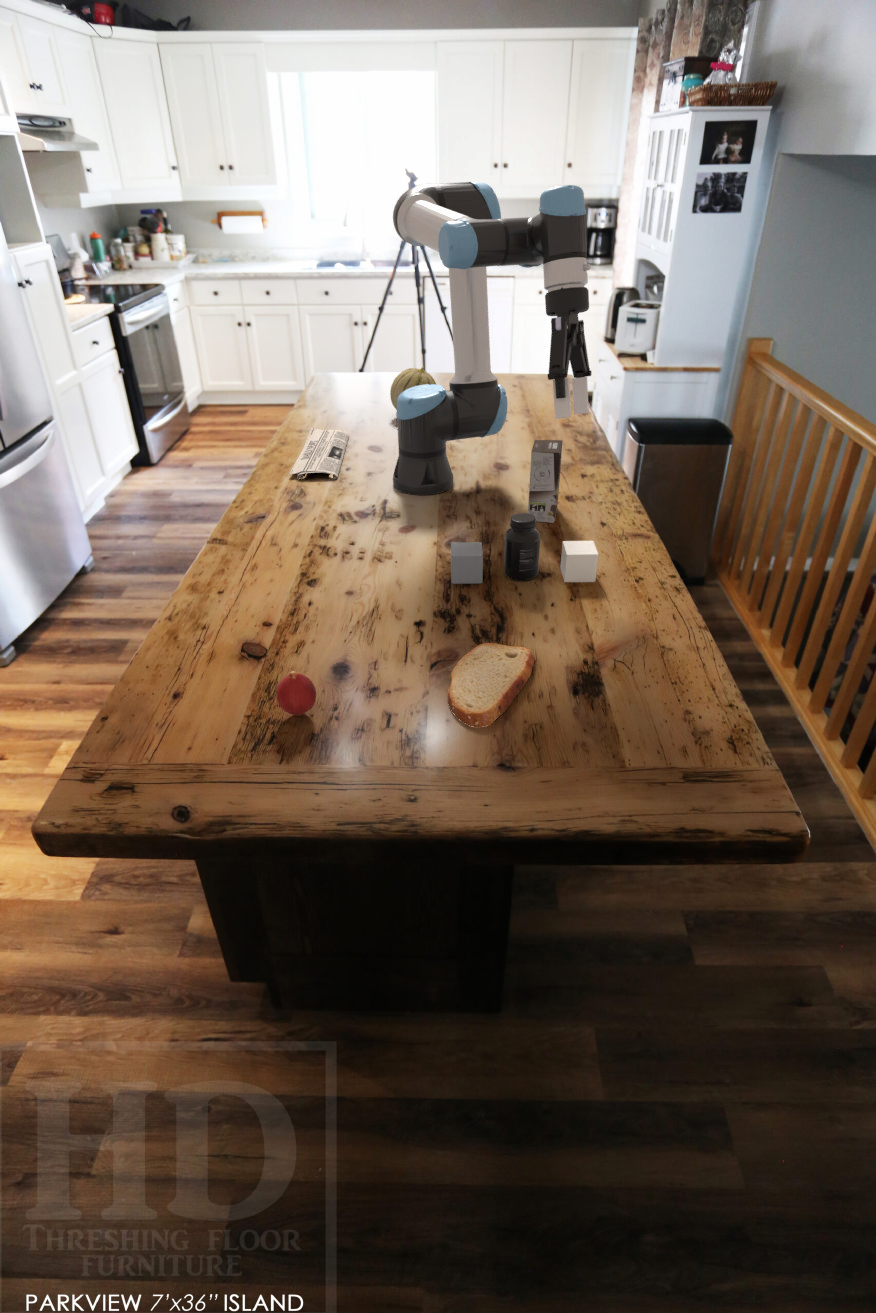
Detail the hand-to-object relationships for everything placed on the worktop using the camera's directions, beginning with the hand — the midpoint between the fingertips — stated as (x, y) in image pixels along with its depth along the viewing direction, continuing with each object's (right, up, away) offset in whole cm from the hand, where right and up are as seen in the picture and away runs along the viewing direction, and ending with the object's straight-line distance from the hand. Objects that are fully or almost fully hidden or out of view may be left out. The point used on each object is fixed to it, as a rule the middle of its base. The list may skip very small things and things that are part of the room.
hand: (572, 416), depth 139 cm
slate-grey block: (-19, -28, +11) cm, 36 cm away
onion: (-46, -53, -25) cm, 74 cm away
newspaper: (-57, +11, +71) cm, 92 cm away
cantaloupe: (-32, +31, +100) cm, 109 cm away
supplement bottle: (-8, -28, +11) cm, 31 cm away
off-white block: (+3, -28, +11) cm, 30 cm away
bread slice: (-16, -49, -19) cm, 55 cm away
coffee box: (-1, -12, +36) cm, 37 cm away
